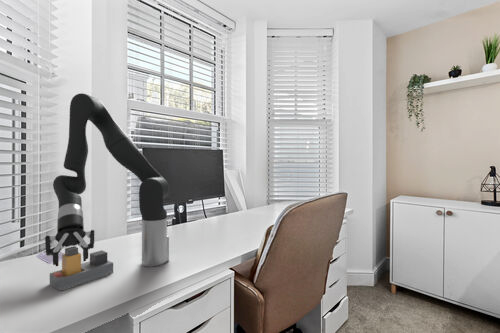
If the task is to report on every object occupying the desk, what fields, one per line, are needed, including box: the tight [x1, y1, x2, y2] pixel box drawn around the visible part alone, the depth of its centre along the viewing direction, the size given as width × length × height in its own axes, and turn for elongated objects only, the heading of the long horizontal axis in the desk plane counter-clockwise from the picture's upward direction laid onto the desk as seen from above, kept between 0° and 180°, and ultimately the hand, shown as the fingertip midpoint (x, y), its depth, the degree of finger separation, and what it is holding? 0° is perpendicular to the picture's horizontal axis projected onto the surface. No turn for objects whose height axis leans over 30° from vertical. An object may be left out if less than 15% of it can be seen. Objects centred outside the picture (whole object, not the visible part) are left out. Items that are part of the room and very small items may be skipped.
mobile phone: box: [36, 251, 65, 264], centre depth 104 cm, size 8×1×15 cm
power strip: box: [49, 250, 114, 292], centre depth 85 cm, size 16×8×7 cm, turn 146°
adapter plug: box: [61, 245, 82, 277], centre depth 82 cm, size 4×4×10 cm
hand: (71, 262), depth 81 cm, fingers open, 6 cm apart
